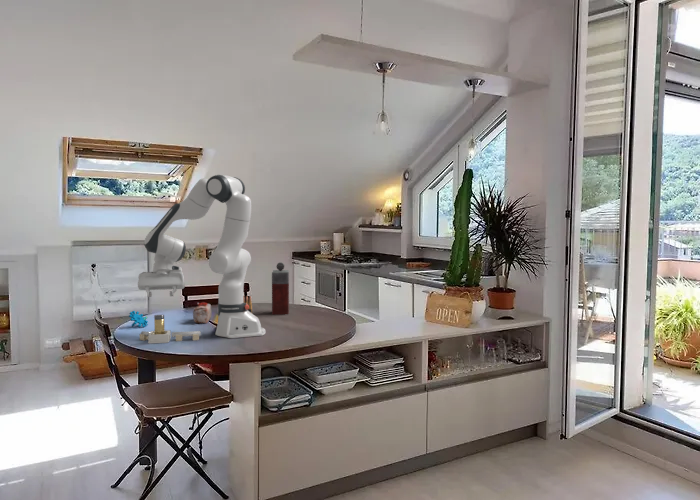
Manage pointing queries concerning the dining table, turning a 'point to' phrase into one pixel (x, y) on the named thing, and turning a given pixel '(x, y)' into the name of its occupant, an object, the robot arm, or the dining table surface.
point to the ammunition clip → (248, 303)
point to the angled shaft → (144, 335)
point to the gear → (138, 319)
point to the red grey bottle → (280, 290)
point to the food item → (202, 313)
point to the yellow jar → (159, 324)
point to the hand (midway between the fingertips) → (160, 295)
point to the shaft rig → (167, 336)
